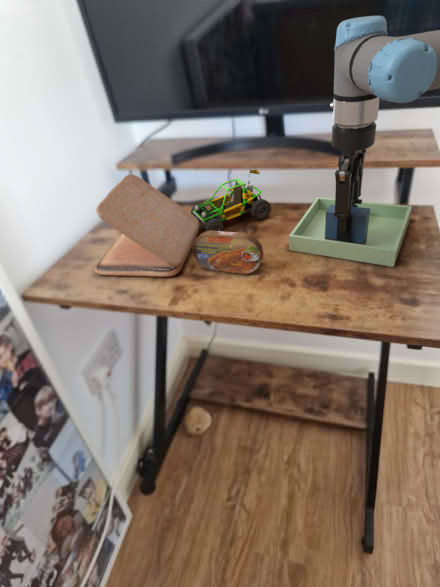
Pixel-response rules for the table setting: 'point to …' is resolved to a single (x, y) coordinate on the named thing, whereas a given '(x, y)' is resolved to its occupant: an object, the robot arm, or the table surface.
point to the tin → (228, 251)
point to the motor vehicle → (232, 205)
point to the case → (145, 231)
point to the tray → (377, 250)
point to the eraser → (357, 229)
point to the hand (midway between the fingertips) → (345, 237)
